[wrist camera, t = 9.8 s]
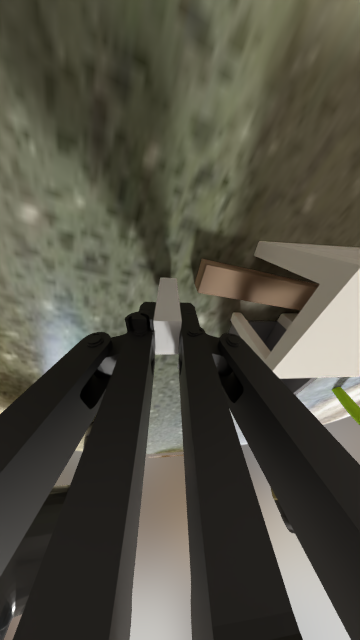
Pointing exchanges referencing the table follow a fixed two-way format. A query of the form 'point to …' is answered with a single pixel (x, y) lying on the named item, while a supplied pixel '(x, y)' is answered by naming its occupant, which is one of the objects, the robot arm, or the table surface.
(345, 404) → the mushroom
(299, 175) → the table surface
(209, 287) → the rod
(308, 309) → the tunnel
